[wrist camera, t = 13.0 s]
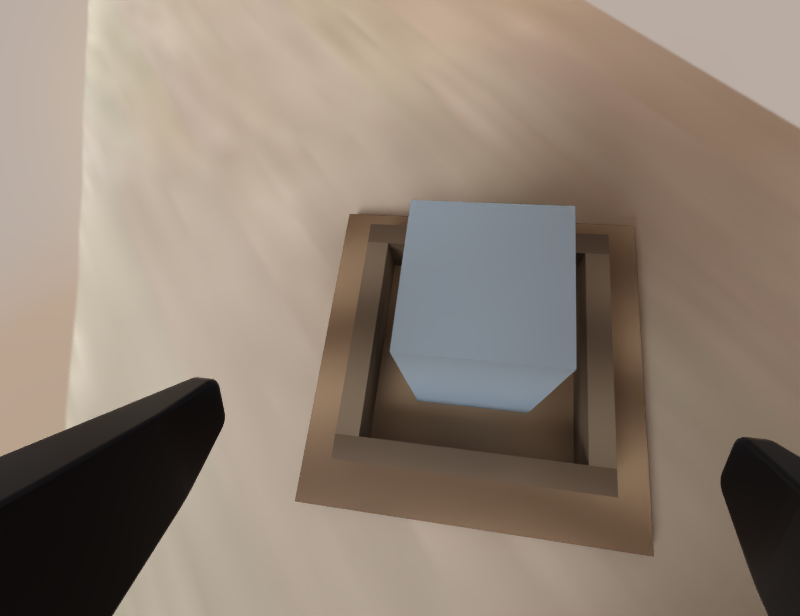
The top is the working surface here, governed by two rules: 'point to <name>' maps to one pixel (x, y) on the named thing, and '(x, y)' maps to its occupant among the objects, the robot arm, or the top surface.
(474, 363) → the block
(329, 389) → the cradle
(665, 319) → the top surface
